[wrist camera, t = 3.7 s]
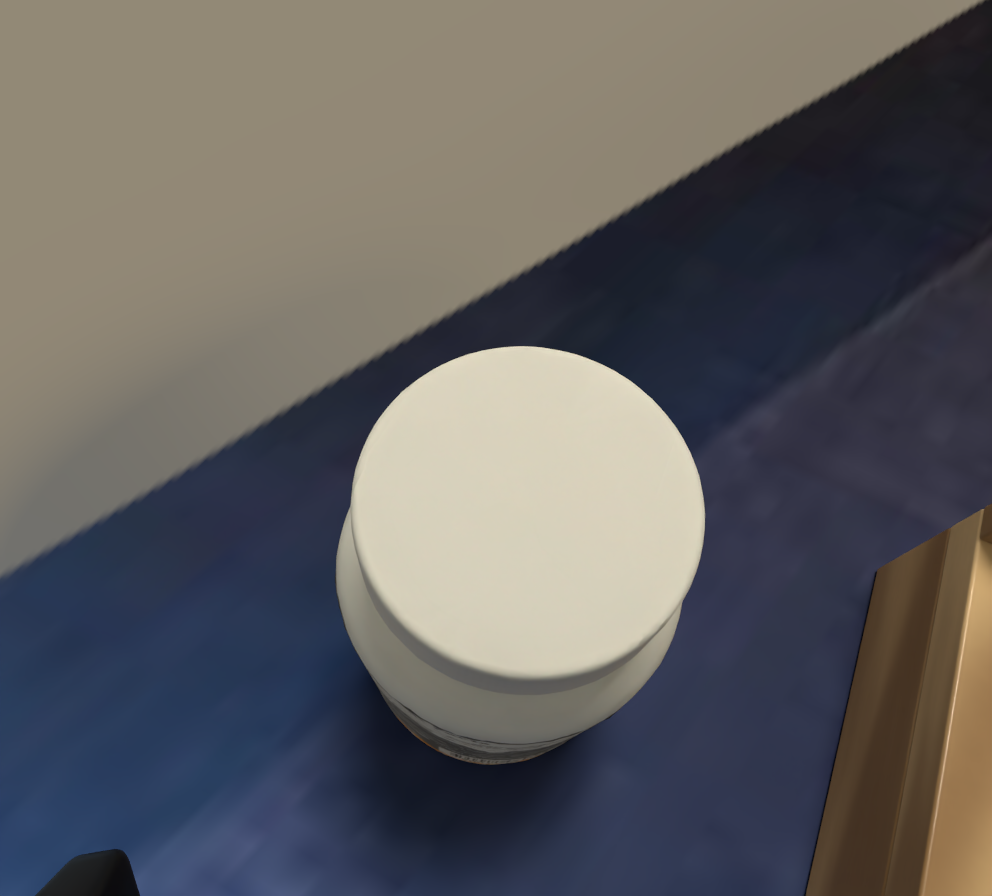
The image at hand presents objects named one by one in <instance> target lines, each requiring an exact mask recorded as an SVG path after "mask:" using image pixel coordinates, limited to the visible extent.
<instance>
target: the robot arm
mask: <svg viewBox="0 0 992 896" xmlns="http://www.w3.org/2000/svg"><path fill="white" fill-rule="evenodd" d="M35 896H140V894H139V891H138V888H137V884H136V881H135V878H134V875H133V871H132V868H131V865H130V861H129V859H128V857H127V855H126V854H125V853H124V852H123V851H122V850H118V849H113V850H107V851H101V852H95V853H89V854H83V855H79V856H77V857H75V858H73V859H72V860H70V861H69V862H68V863H67V864H66V865H65V866H64V867H63V868H62V869H61V870H60V871H59V872H58V873H57V874H56V875H55V876H54V877H53V878H52V879H51V880H50V881H49V882H48V883H47V884H46V885H45V886H44V887H43V888H42V889H41V890H40V891H39V892H38V893H37V894H36V895H35Z"/></svg>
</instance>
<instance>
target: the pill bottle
mask: <svg viewBox="0 0 992 896" xmlns="http://www.w3.org/2000/svg"><path fill="white" fill-rule="evenodd" d="M704 530H705V509H704V499H703V493H702V488H701V483H700V478H699V475H698V471H697V468H696V466H695V463H694V461H693V458H692V456H691V453H690V451H689V449H688V447H687V445H686V444H685V442H684V440H683V438H682V436H681V435H680V433H679V431H678V430H677V428H676V427H675V425H674V424H673V423H672V422H671V420H670V419H669V418H668V416H667V415H666V414H665V413H664V412H663V410H662V409H661V408H660V407H659V406H658V405H657V404H656V403H655V402H654V400H653V399H652V398H650V397H649V396H648V395H647V394H646V393H644V392H643V391H642V390H641V389H640V388H639V387H638V386H636V385H635V384H634V383H632V382H631V381H630V380H628V379H627V378H625V377H623V376H622V375H620V374H619V373H617V372H615V371H614V370H612V369H610V368H608V367H606V366H604V365H602V364H600V363H597V362H595V361H592V360H590V359H587V358H585V357H582V356H579V355H576V354H572V353H568V352H563V351H559V350H553V349H547V348H541V347H527V346H517V347H503V348H495V349H489V350H483V351H479V352H476V353H472V354H468V355H465V356H462V357H459V358H457V359H454V360H452V361H449V362H447V363H445V364H443V365H441V366H439V367H437V368H435V369H433V370H432V371H430V372H429V373H427V374H425V375H424V376H422V377H421V378H419V379H418V380H417V381H415V382H414V383H412V384H411V385H410V386H409V387H407V388H406V389H405V390H404V391H403V392H401V393H400V394H399V396H398V397H397V398H396V399H395V400H394V401H393V402H392V403H391V404H390V405H389V407H388V408H387V409H386V410H385V411H384V412H383V414H382V415H381V417H380V418H379V419H378V421H377V422H376V424H375V426H374V427H373V429H372V431H371V432H370V434H369V436H368V438H367V440H366V443H365V445H364V447H363V450H362V452H361V455H360V458H359V461H358V463H357V467H356V470H355V474H354V479H353V485H352V495H351V506H350V509H349V511H348V514H347V516H346V519H345V522H344V526H343V529H342V533H341V537H340V540H339V546H338V552H337V557H336V576H335V583H336V592H337V598H338V602H339V608H340V611H341V614H342V617H343V622H344V626H345V629H346V631H347V633H348V635H349V637H350V640H351V642H352V644H353V646H354V649H355V651H356V652H357V654H358V656H359V657H360V659H361V661H362V662H363V664H364V665H365V667H366V669H367V670H368V672H369V673H370V675H371V677H372V678H373V680H374V682H375V683H376V685H377V687H378V689H379V690H380V692H381V694H382V696H383V698H384V699H385V701H386V703H387V704H388V706H389V707H390V709H391V710H392V711H393V713H394V714H395V715H396V717H397V718H398V720H399V721H400V722H401V723H402V724H403V725H404V726H405V727H406V728H407V729H408V730H409V731H410V732H411V733H412V734H413V735H415V736H416V737H417V738H419V739H420V740H421V741H423V742H424V743H425V744H427V745H428V746H430V747H432V748H433V749H435V750H437V751H439V752H441V753H443V754H445V755H448V756H450V757H453V758H456V759H459V760H463V761H466V762H472V763H477V764H489V765H493V764H505V763H514V762H520V761H525V760H528V759H531V758H534V757H537V756H539V755H541V754H544V753H546V752H548V751H550V750H552V749H554V748H556V747H558V746H559V745H561V744H563V743H565V742H567V741H568V740H570V739H572V738H573V737H574V736H576V735H578V734H580V733H582V732H583V731H585V730H587V729H589V728H591V727H593V726H594V725H596V724H598V723H600V722H601V721H603V720H605V719H608V718H610V717H611V716H612V715H613V714H614V713H615V712H617V711H618V710H619V709H620V708H621V707H622V706H623V705H624V704H625V703H626V702H628V701H629V700H630V699H631V698H632V697H633V696H634V695H635V694H636V693H637V692H638V691H639V690H640V689H641V688H642V687H643V686H644V684H645V683H646V682H647V681H648V679H649V678H650V677H651V676H652V674H653V673H654V672H655V670H656V669H657V668H658V666H659V665H660V664H661V662H662V660H663V658H664V656H665V654H666V652H667V650H668V648H669V645H670V643H671V641H672V638H673V636H674V633H675V630H676V627H677V623H678V620H679V616H680V611H681V606H682V601H683V599H684V598H685V596H686V594H687V592H688V590H689V589H690V586H691V584H692V581H693V579H694V576H695V573H696V571H697V567H698V564H699V561H700V557H701V552H702V546H703V539H704Z"/></svg>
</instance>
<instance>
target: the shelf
mask: <svg viewBox="0 0 992 896" xmlns="http://www.w3.org/2000/svg"><path fill="white" fill-rule="evenodd" d="M806 896H992V504H990V505H988V506H987V507H985V509H982V510H980V511H978V512H976V513H975V514H973V515H971V516H970V517H968V518H966V519H964V520H963V521H961V522H959V523H957V524H956V525H954V526H952V528H949V529H947V530H945V531H943V532H942V533H940V534H938V535H936V536H935V537H933V538H931V539H929V540H928V541H926V542H924V543H922V544H921V545H919V546H917V547H916V548H914V549H912V550H910V551H909V552H907V553H905V554H903V555H902V556H900V557H898V558H896V559H895V560H893V561H891V562H889V563H888V564H886V565H884V566H882V567H881V568H879V569H878V570H877V575H876V579H875V584H874V588H873V593H872V597H871V602H870V606H869V611H868V615H867V620H866V624H865V629H864V633H863V638H862V643H861V647H860V652H859V656H858V661H857V665H856V670H855V674H854V679H853V683H852V688H851V692H850V697H849V701H848V706H847V710H846V715H845V720H844V724H843V729H842V733H841V738H840V742H839V747H838V751H837V756H836V760H835V765H834V769H833V774H832V778H831V783H830V787H829V792H828V797H827V801H826V806H825V810H824V815H823V819H822V824H821V828H820V833H819V837H818V842H817V846H816V851H815V855H814V860H813V864H812V869H811V874H810V878H809V883H808V887H807V892H806Z"/></svg>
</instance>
